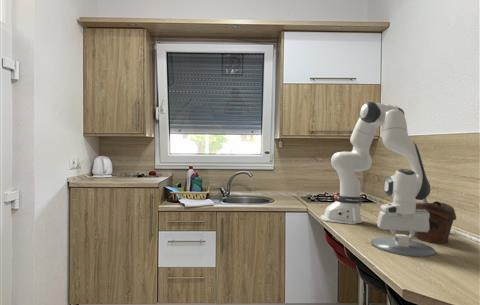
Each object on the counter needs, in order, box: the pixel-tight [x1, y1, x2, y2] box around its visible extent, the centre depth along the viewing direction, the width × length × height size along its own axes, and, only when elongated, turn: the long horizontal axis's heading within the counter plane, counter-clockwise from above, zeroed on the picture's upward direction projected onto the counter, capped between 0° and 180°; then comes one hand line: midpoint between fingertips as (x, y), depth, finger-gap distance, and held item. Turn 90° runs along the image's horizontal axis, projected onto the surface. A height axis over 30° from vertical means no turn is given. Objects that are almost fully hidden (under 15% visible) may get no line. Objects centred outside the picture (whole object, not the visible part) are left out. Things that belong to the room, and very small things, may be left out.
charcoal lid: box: [370, 233, 436, 258], centre depth 139 cm, size 24×24×5 cm
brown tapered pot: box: [415, 201, 457, 244], centre depth 155 cm, size 18×20×18 cm
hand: (402, 241), depth 139 cm, fingers closed on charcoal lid, 4 cm apart
